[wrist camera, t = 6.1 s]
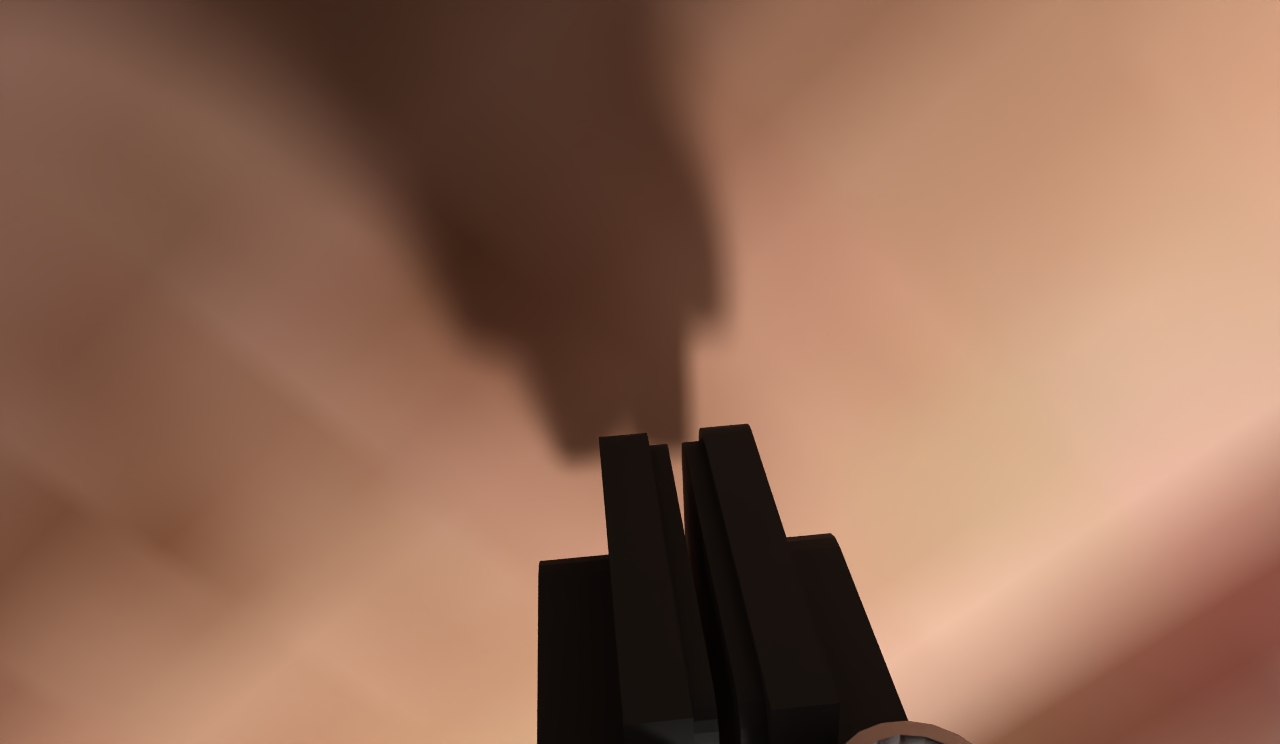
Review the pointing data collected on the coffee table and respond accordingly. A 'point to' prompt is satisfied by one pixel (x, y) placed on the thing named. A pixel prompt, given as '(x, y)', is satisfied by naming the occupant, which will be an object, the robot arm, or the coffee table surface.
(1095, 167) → the coffee table surface
